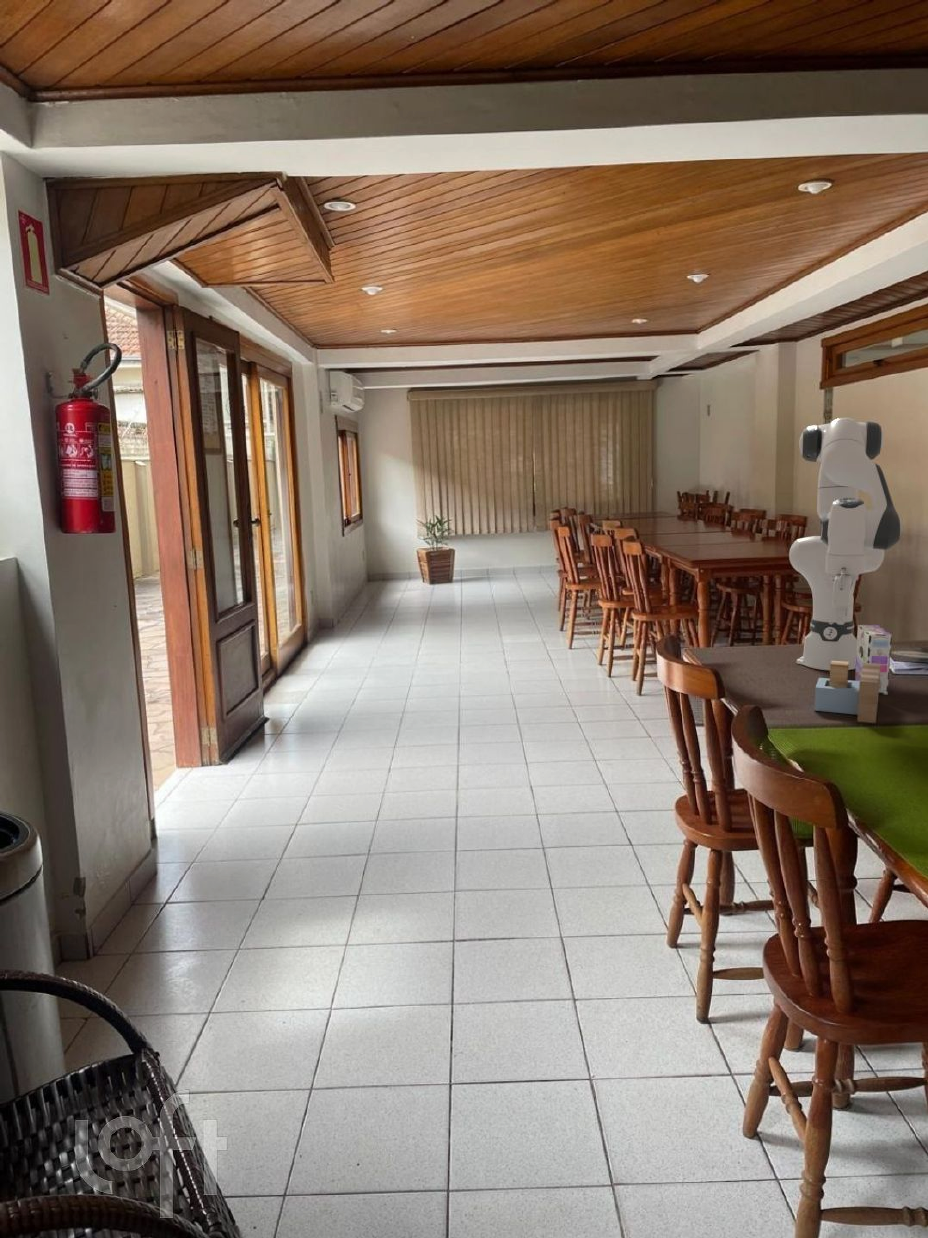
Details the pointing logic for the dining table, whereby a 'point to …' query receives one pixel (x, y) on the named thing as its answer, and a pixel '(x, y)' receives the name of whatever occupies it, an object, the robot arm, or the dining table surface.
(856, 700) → the socket block
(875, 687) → the wall
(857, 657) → the candy box
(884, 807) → the dining table surface
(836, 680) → the tan wooden block
